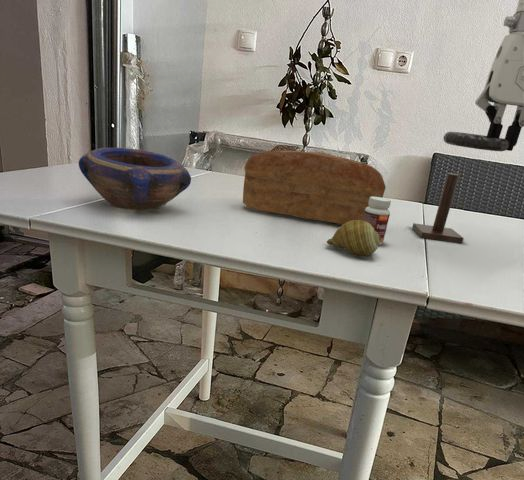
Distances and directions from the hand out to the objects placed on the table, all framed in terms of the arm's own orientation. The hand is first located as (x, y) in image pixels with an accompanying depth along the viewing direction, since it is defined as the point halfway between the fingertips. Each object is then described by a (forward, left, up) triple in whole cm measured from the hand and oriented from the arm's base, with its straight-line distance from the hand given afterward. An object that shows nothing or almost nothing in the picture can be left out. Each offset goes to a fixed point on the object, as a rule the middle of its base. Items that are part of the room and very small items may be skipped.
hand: (499, 148), depth 91 cm
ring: (+4, 0, +1) cm, 4 cm away
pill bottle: (+19, 0, -20) cm, 27 cm away
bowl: (+66, -2, -20) cm, 69 cm away
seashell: (+24, +10, -20) cm, 33 cm away
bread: (+31, -16, -20) cm, 40 cm away
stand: (+2, -15, -20) cm, 25 cm away
